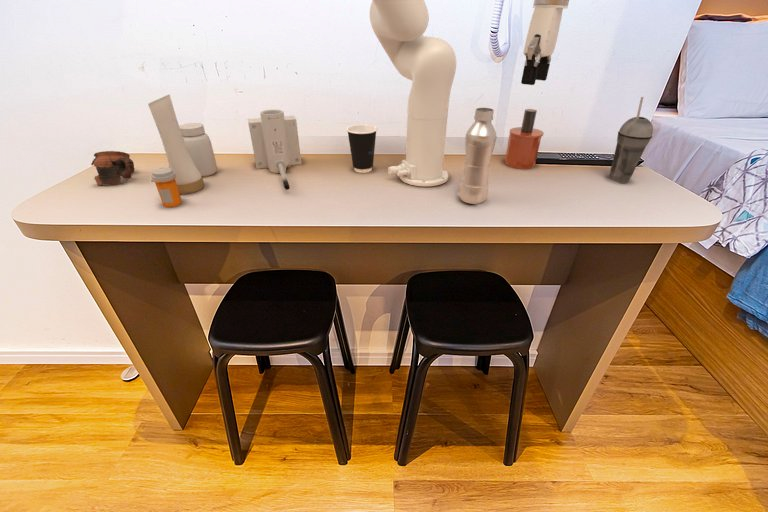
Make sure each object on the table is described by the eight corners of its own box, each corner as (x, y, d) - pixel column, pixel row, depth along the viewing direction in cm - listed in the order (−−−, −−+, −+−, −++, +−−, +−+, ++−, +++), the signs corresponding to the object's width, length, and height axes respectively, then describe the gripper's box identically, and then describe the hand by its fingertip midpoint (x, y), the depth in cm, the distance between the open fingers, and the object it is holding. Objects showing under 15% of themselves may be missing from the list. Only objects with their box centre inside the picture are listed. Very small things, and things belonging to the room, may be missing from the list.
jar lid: (524, 141, 100) (529, 115, 96) (502, 133, 106) (506, 108, 103) (550, 137, 103) (556, 112, 99) (526, 129, 109) (531, 105, 106)
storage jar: (518, 170, 104) (524, 139, 100) (498, 161, 110) (503, 131, 106) (541, 166, 107) (548, 135, 102) (520, 157, 113) (526, 128, 109)
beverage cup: (639, 186, 95) (672, 101, 84) (607, 184, 96) (636, 99, 86) (629, 175, 101) (659, 94, 90) (599, 173, 102) (625, 93, 92)
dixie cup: (380, 173, 102) (380, 131, 96) (350, 176, 101) (349, 133, 95) (374, 163, 109) (373, 123, 103) (346, 165, 107) (344, 125, 101)
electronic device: (299, 158, 112) (292, 104, 104) (314, 192, 92) (307, 128, 83) (255, 162, 109) (245, 107, 101) (261, 199, 88) (249, 133, 80)
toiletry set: (194, 168, 105) (171, 87, 94) (222, 167, 105) (202, 86, 94) (150, 208, 84) (115, 110, 73) (185, 208, 84) (155, 110, 73)
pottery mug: (85, 187, 95) (80, 153, 94) (122, 190, 104) (118, 159, 103) (119, 180, 91) (114, 145, 90) (155, 184, 100) (151, 151, 99)
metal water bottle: (488, 197, 90) (502, 107, 79) (484, 209, 84) (499, 114, 73) (460, 193, 91) (471, 104, 80) (455, 205, 86) (465, 112, 75)
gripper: (545, 1, 96) (529, 76, 105) (522, -1, 84) (507, 84, 93) (577, 2, 92) (558, 80, 101) (558, -1, 80) (538, 88, 89)
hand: (533, 82), depth 97 cm, fingers open, 9 cm apart
